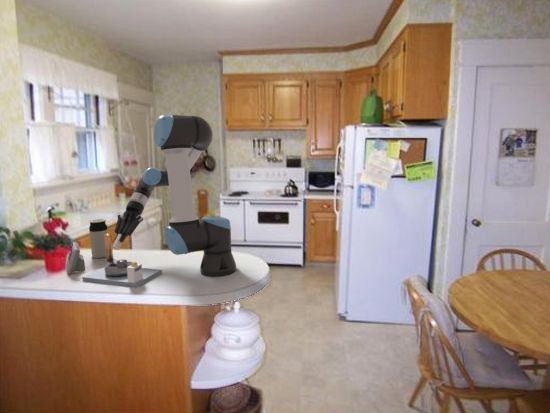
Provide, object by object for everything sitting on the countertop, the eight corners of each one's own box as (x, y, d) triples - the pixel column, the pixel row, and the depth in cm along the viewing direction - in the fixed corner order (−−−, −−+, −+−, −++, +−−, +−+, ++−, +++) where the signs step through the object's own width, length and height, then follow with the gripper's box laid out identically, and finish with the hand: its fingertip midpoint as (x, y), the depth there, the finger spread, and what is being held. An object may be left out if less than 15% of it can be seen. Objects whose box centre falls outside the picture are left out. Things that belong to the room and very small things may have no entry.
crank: (141, 271, 157) (139, 237, 155) (113, 279, 148) (109, 243, 146) (122, 263, 168) (120, 231, 166) (95, 270, 160) (91, 236, 157)
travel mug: (112, 255, 186) (109, 219, 183) (96, 259, 181) (92, 222, 178) (105, 252, 192) (102, 217, 189) (89, 256, 186) (85, 220, 183)
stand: (161, 273, 160) (160, 252, 158) (137, 286, 145) (135, 264, 143) (110, 268, 168) (109, 248, 166) (82, 280, 153) (80, 259, 151)
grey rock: (67, 264, 174) (64, 242, 172) (89, 262, 177) (86, 240, 175) (59, 276, 159) (56, 251, 157) (83, 273, 161) (81, 249, 160)
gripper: (152, 209, 180) (132, 253, 168) (129, 208, 184) (108, 251, 172) (144, 200, 174) (123, 244, 162) (121, 199, 178) (98, 242, 166)
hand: (115, 248), depth 167 cm, fingers closed
